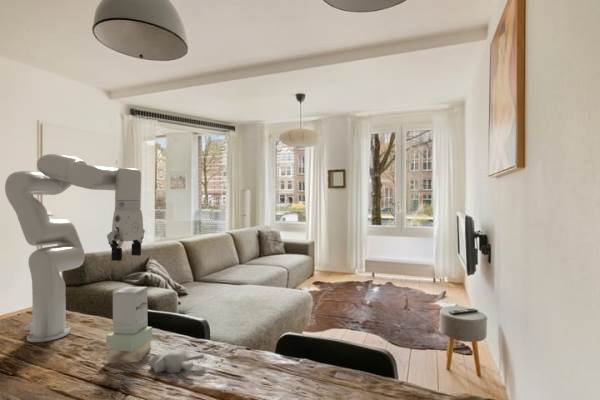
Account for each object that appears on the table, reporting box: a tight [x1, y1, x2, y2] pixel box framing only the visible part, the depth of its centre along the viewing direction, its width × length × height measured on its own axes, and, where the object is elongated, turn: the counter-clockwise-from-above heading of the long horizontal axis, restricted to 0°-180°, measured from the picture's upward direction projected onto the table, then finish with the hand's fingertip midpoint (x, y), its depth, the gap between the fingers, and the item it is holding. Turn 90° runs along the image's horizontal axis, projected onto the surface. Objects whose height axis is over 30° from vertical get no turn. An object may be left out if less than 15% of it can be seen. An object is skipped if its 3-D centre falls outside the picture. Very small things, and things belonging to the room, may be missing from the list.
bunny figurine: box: [147, 348, 205, 374], centre depth 96 cm, size 10×5×15 cm
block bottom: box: [107, 340, 152, 364], centre depth 105 cm, size 9×9×4 cm
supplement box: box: [112, 286, 149, 334], centre depth 105 cm, size 7×7×13 cm
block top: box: [105, 325, 153, 352], centre depth 104 cm, size 9×9×4 cm
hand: (126, 257), depth 110 cm, fingers open, 9 cm apart
